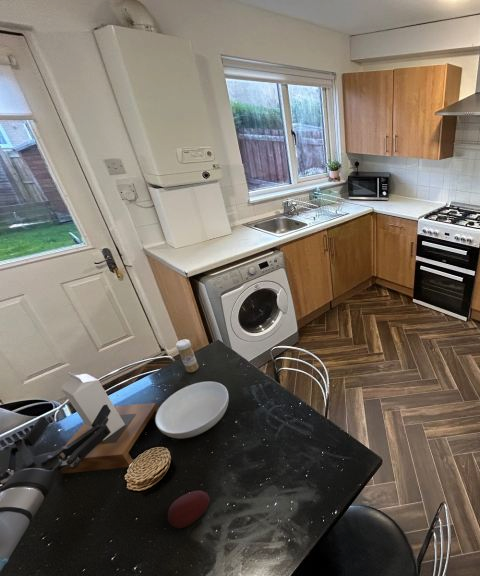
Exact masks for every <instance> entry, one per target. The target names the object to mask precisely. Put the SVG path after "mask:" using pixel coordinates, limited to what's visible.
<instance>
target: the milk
mask: <svg viewBox="0 0 480 576" xmlns="http://www.w3.org/2000/svg"><path fill="white" fill-rule="evenodd" d="M67 373H68V375H69V377H68V378H67V380H66V381H65V382H64V383H63V384H62V385H61V387H60V390H61V391H62V393H63V394H64V396H65V397H66V398H67V401H68V402H70V404H71V405H72V407H73V408H74V411H76V413H77V414H78V416H79V417H80V419H81V420H82V421H83V424H84V423H85V424H86V426H87V427H88V429H89V430H90V429H91V428H93V427H92V426H91V425H92V423H93V422H94V420H95V418H96V417H97V415H98V413H99V412H100V410H101V408H102V407H103V405H107V406H108V407H109V409H110V411H111V412H110V414H109V416H108V422H107V424H106V425H107V427H108V428H109V430H110V431H111V433H110V434H109V435H108V436H107V437H106V438H108V437H109V436H110V435H112V434H113V433H114V432H116V431H117V430H118V429H120V428H121V427H123V426H124V425H125V424H124V422H123V420H122V419H121V417H120V415H119V414H118V412H117V410H116V409H115V407H114V406H115V405H114V404H113V402H112V400H111V399H110V397H109V395H108V394H107V392H106V390H105V388H104V387H103V385H102V384H101V382H100V380H99V379H97V378H95V377H94V376H91V375H90V374H88V373H81V374H73V373H72V372H69V371H68V372H67ZM95 432H96V431H95ZM106 438H105V439H106ZM105 439H103V440H105Z"/></svg>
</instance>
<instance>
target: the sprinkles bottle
mask: <svg viewBox="0 0 480 576" xmlns="http://www.w3.org/2000/svg"><path fill="white" fill-rule="evenodd" d="M175 347H176V349H177V350H178V353H179V356H180V359H181V361H182V364H183V366H184V368H185V372H187V373H195V372H196V371H197V370H198V369H199V364H198V362H197V358H196V356H195V353H194V350H193V348H192V344H191V341H190V340H189V339H186V338H184V339H181V340H178V341H177V342H176V344H175Z"/></svg>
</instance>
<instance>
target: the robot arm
mask: <svg viewBox="0 0 480 576" xmlns="http://www.w3.org/2000/svg"><path fill="white" fill-rule="evenodd" d="M110 412H111V411H110V409H109V407H108V406H107V405H103V407H102V408H101V410H100V412H99V413H98V415H97V417H96V418H95V420H94V422H93V423H92V425H91V426H92V427H93V428H91V429H90V430H88V431H87V432H85V433H84V434H83V435H81V436H80V437H78V438H77V439H75V440H74V441H73V442H71V443H70V444H68V445H67V446H65V445H64V446H65V447H64V446H61V447H60V448H58V449H56V450H54V451H53V450H52V451H49V452H47V453H40V454H38V455H36V456H34V455H33V454H32V451H31V450H30V448H29V447H33V446H34V445H35V444H36V443H37V441H38V440H39V439H40V438H41V436H42V435H43V433H44V432H45V431H46V429H47V428H48V426H49V425H50V422H49V421H48V419H47V418H46V417H45V416H41V417H39V419H38V420H37V421H36V422H35V424H34V425H33V427H31V429H30V430H28V431H27V432H26V433H25V434H23V437H22V438H17V439H15V440H14V441H13V445H11V444H8V445H6V446H4V447H3V450H2V459H1V466H0V485H2V487H1V488H0V572H1V571H2V570H3V568H4V567H5V565H6V564H7V563H8V562H9V560H10V557H11V555H12V554H13V552H14V551H15V549H16V547H17V545H18V544H19V542H20V540H21V539H22V537H23V535H24V534H25V532H26V530H27V529H28V527H29V526H30V524H31V522H32V521H33V519H34V517H35V516H36V514H37V512H38V510H39V509H40V507H41V505H42V504H43V502H44V500H45V498H46V497H48V494H49V492H50V491H51V489H52V487H53V486H54V485H55V482H56V480H57V476H58V474H59V472H61V471H60V470H62V469H63V468H66V467H71V469H75V468H77V467H78V465H79V464H80V462H81V461H82V459H83V458H84V457H86V456H87V455H88V454H89V453H90V452H91V451H92V450H93V449H94V448H95V447H96V446H97V445H98V444H99V443H100V442H101V441H102V440H103V439H105V438H106V437H107V436H108V435H109V434H110V433H111V431H110V430H109V428H108V427H107V425H106V424H107V422H108V416H109V414H110ZM95 431H96V432H95ZM18 453H19V455H20V456H21V458H22V461H23V462H24V464H23V465H22V466H20V467H19V468H18V469H16V465H17V456H18V455H17V454H18ZM61 453H64V455H65V457H64V458H62V456H61V455H60V454H61Z"/></svg>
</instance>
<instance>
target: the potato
mask: <svg viewBox="0 0 480 576" xmlns="http://www.w3.org/2000/svg"><path fill="white" fill-rule="evenodd" d="M210 500H211V498H210V496H209V494H208V493H207V492H206V491H203V490H193V491H190V492H188V493H185V494H184V495H182V496H180V497H178V498H176V499H175V500H174V501H173V502H172V503H171V505H170V507H169V508H168V511H167V521H168V523H169V524H170V526H172V527H173V528H175V529H185V528H186V527H188V526H190V525H192V524H194V523H195V522H196V521H197V520H199V519H200V518H201V516H202V515H203V514H204V513H205V512H206V510H207V509H208V507H209V506H210V502H211V501H210Z"/></svg>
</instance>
